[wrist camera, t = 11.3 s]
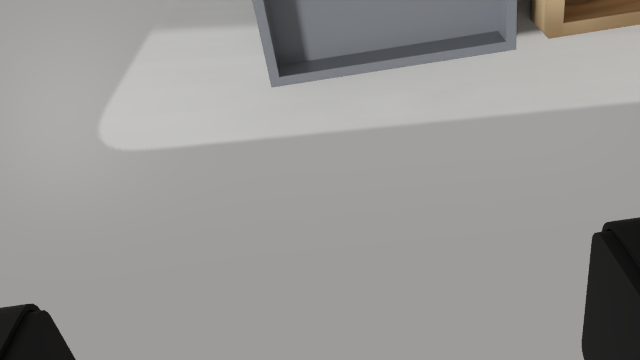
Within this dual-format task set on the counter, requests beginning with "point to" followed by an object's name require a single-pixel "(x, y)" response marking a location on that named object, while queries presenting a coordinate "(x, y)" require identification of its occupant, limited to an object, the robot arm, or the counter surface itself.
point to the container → (377, 34)
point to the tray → (583, 15)
